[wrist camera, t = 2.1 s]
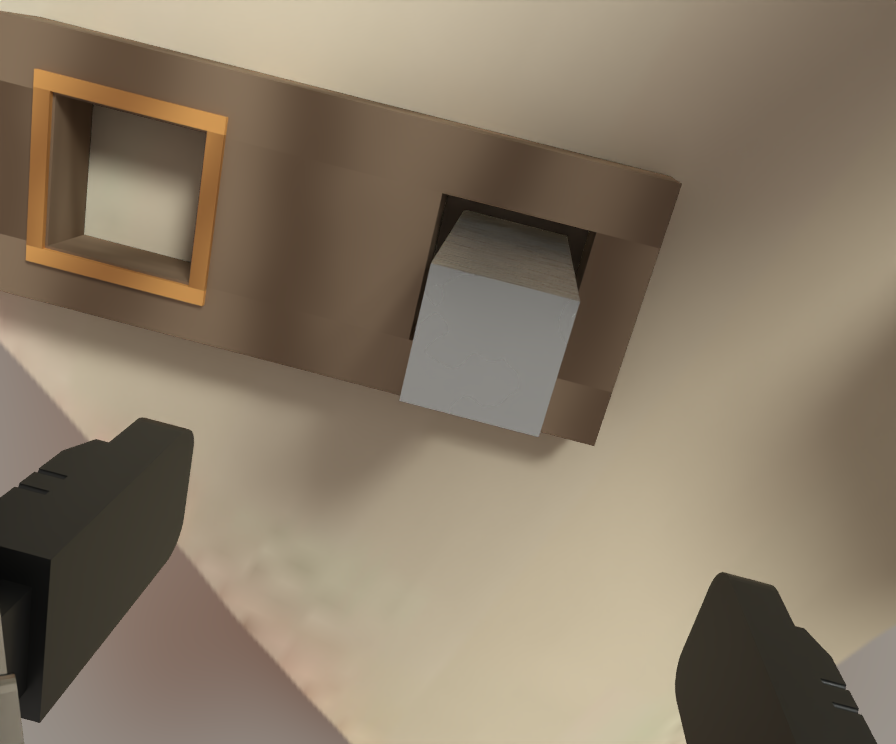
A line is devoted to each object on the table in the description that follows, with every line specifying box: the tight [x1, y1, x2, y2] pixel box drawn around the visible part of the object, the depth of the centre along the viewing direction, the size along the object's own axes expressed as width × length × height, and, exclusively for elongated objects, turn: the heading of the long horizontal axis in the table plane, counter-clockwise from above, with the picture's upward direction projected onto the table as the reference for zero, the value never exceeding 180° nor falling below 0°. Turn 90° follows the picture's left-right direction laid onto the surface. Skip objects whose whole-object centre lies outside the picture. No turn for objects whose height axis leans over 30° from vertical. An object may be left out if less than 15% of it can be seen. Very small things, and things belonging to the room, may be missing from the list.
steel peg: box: [399, 210, 580, 437], centre depth 26 cm, size 4×4×10 cm
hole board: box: [0, 11, 682, 446], centre depth 29 cm, size 24×10×3 cm, turn 77°
